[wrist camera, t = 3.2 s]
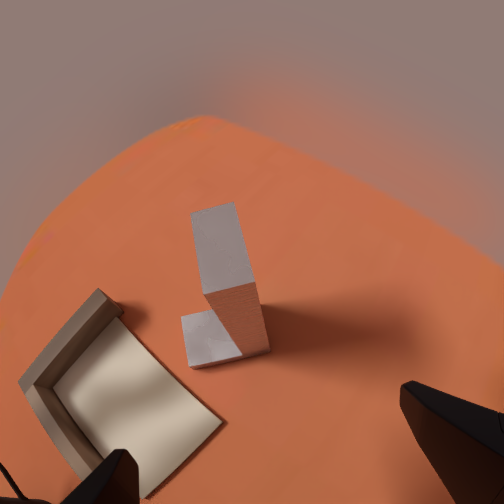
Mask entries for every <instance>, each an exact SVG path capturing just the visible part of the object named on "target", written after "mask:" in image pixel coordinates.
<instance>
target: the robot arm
mask: <svg viewBox="0 0 504 504" xmlns="http://www.w3.org/2000/svg"><path fill="white" fill-rule="evenodd" d="M400 407H401V410H402V412H403V414H404V416H405V418H406V420H407V422H408V424H409V426H410V428H411V430H412V432H413V434H414V437H415V439H416V441H417V443H418V444H419V446H420V448H421V449H422V451H423V452H424V454H425V455H426V457H427V458H428V460H429V461H430V463H431V465H432V466H433V468H434V469H435V471H436V472H437V474H438V476H439V477H440V479H441V480H442V482H443V484H444V485H445V487H446V488H447V490H448V492H449V493H450V495H451V496H452V498H453V500H454V501H455V503H456V504H504V414H503V413H500V412H499V413H498V412H497V411H494V410H491V409H488V408H486V407H483V406H480V405H477V404H474V403H471V402H469V401H466V400H463V399H460V398H458V397H455V396H452V395H450V394H447V393H444V392H442V391H439V390H437V389H434V388H431V387H429V386H426V385H424V384H421V383H419V382H416V381H413V380H412V381H409V382H407V383H404V384H402V385H401V388H400ZM60 504H140V496H139V466H138V464H137V462H136V461H135V459H134V458H133V457H132V455H131V454H130V453H129V451H128V450H127V449H114V450H113V451H112V452H111V453H110V454H109V455H108V456H107V457H106V458H105V459H104V460H103V461H102V462H101V463H100V464H99V465H98V466H97V467H96V468H95V469H94V470H93V471H92V472H91V473H90V474H89V475H88V476H87V477H86V478H85V479H84V480H83V481H82V482H81V483H80V484H79V485H78V486H77V487H76V488H75V489H74V490H73V491H72V492H71V493H70V494H69V495H68V496H67V497H66V498H65V499H64V500H63V501H62V502H61V503H60Z"/></svg>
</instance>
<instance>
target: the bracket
mask: <svg viewBox="0 0 504 504" xmlns="http://www.w3.org/2000/svg"><path fill="white" fill-rule="evenodd" d="M190 215H191V222H192V228H193V235H194V241H195V248H196V254H197V260H198V266H199V272H200V278H201V284H202V289H203V295H204V296H205V298H206V299H207V301H208V303H209V304H210V306H211V307H212V310H208V311H203V312H199V313H195V314H191V315H186V316H182V317H181V321H182V328H183V334H184V340H185V346H186V352H187V358H188V363H189V367H190V368H192V369H198V368H203V367H208V366H213V365H217V364H222V363H226V362H231V361H235V360H239V359H244V358H248V357H252V356H256V355H260V354H264V353H268V352H271V350H270V345H269V341H268V337H267V332H266V328H265V323H264V319H263V315H262V310H261V306H260V301H259V297H258V292H257V288H256V284H255V280H254V276H253V272H252V268H251V265H250V261H249V257H248V253H247V249H246V246H245V242H244V238H243V234H242V231H241V227H240V223H239V219H238V216H237V212H236V208H235V204H234V202H231V203H227V204H223V205H220V206H216V207H212V208H208V209H204V210H201V211H197V212H193V213H190Z"/></svg>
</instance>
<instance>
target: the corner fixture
mask: <svg viewBox="0 0 504 504" xmlns="http://www.w3.org/2000/svg"><path fill="white" fill-rule="evenodd" d="M122 313H123V311H122V309H121V308H120V307H119V306H118V305H117V304H116V303H115V301H113V300H112V299H111V298H110V297H108V296H107V295H106V294H105V293H104V292H103V291H101V290H100V289H99V288H97V289H96V290H95V292H94V293H93V294H92V295H91V296H90V297H89V298H88V299H87V300H86V301H85V302H84V304H83V305H82V306H81V307H80V308H79V309H78V310H77V311H76V312H75V313H74V315H73V316H72V317H71V318H70V319H69V320H68V321H67V323H66V324H65V325H64V326H63V327H62V328H61V329H60V331H59V332H58V333H57V334H56V335H55V336H54V338H53V339H52V340H51V341H50V342H49V344H48V345H47V346H46V347H45V348H44V350H43V351H42V352H41V353H40V354H39V356H38V357H37V358H36V359H35V361H34V362H33V363H32V364H31V366H30V367H29V368H28V369H27V371H26V372H25V373H24V374H23V376H22V377H21V378H20V380H19V381H18V383H19V385H20V387H21V389H22V391H23V393H24V395H25V396H26V398H27V400H28V402H29V404H30V405H31V407H32V409H33V411H34V412H35V414H36V416H37V417H38V419H39V421H40V422H41V424H42V426H43V427H44V429H45V430H46V432H47V434H48V435H49V437H50V438H51V440H52V441H53V443H54V444H55V446H56V447H57V448H58V450H59V451H60V453H61V454H62V456H63V457H64V458H65V460H66V461H67V462H68V464H69V465H70V466H71V468H72V469H73V470H74V472H75V473H76V474H77V476H78V477H79V478H80V479H81V481H83V480H84V479H85V478H86V477H87V476H88V475H89V474H90V473H91V472H92V471H93V470H94V469H95V468H96V467H97V466H98V465H99V464H100V463H101V462H102V461H103V460H104V459H105V458H106V457H107V456H108V455H109V454H110V453H111V452H112V451H113V450H114V449H127V450H128V451H129V453H130V454H131V455H132V457H133V458H134V459H135V461H136V462H137V464H138V466H139V496H140V498H141V499H144V498H145V497H147V496H148V495H149V494H150V493H151V492H152V491H153V490H154V489H155V488H157V487H158V486H159V485H160V484H161V483H162V482H163V481H164V480H165V479H166V478H167V477H168V476H169V475H171V474H172V473H173V472H174V471H175V470H176V469H177V468H178V467H179V466H180V465H181V464H182V463H183V462H184V461H185V460H186V459H187V458H188V457H189V456H190V455H191V454H192V453H193V452H194V451H195V450H196V449H197V448H198V447H199V446H200V445H201V444H202V443H203V442H204V441H205V440H206V439H207V438H208V437H209V436H210V435H211V434H212V433H213V432H214V431H215V430H216V429H217V428H218V427H219V425H220V424H221V423H222V422H223V421H221V420H220V419H219V418H218V417H217V416H216V415H214V414H213V413H212V412H211V411H210V410H209V409H208V408H206V407H205V406H204V405H203V404H202V403H201V402H200V401H199V400H198V399H196V398H195V397H194V396H193V395H192V394H191V393H190V392H189V391H188V390H187V389H186V388H185V387H184V386H182V385H181V384H180V383H179V382H178V381H177V380H176V379H175V378H174V377H173V376H172V375H171V374H170V373H169V372H168V371H167V370H166V369H165V368H164V367H163V366H162V365H161V364H160V363H159V362H158V361H157V360H156V359H155V358H154V357H153V356H152V355H151V354H150V353H149V351H148V350H147V349H146V348H145V347H144V346H143V345H142V344H141V343H140V342H139V341H138V340H137V339H136V337H135V336H134V335H133V334H132V333H131V332H130V331H129V330H128V329H127V327H126V326H125V325H124V324H123V323H122V322H121V321H120V319H119V317H120V316H121V315H122ZM55 392H56V393H55ZM57 395H58V396H57ZM59 398H60V399H59ZM65 407H66V408H65ZM67 410H68V411H67ZM69 413H70V414H69ZM71 416H72V417H71ZM74 420H75V421H74ZM76 423H77V424H76ZM79 427H80V428H79ZM82 431H83V432H82ZM85 435H86V436H85ZM88 439H89V440H90V441H89V440H88ZM92 444H93V445H92ZM96 449H97V450H98V451H97V450H96ZM101 455H102V456H101Z"/></svg>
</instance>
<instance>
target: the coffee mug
mask: <svg viewBox="0 0 504 504" xmlns="http://www.w3.org/2000/svg"><path fill="white" fill-rule="evenodd" d="M0 470H1V472H2V473H3V475H4V476H5V478H6V479H7V481H8V482H9V484H10V485H11V487H12V488H13V490H14V491H15V493H16V494H17V496H18V498H9V497H0V504H51V503H49V502H47V501H45V500H40V499H28V498H27V497H25V496H24V495H23V494H22V492H21V491H20V490H19V488H18V486H17V485H16V483H15V482H14V480H13V479H12V477H11V476H10V474H9V473H8V471H7V470H6V469H5V467H4V466H3V465H2V464H1V463H0Z"/></svg>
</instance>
